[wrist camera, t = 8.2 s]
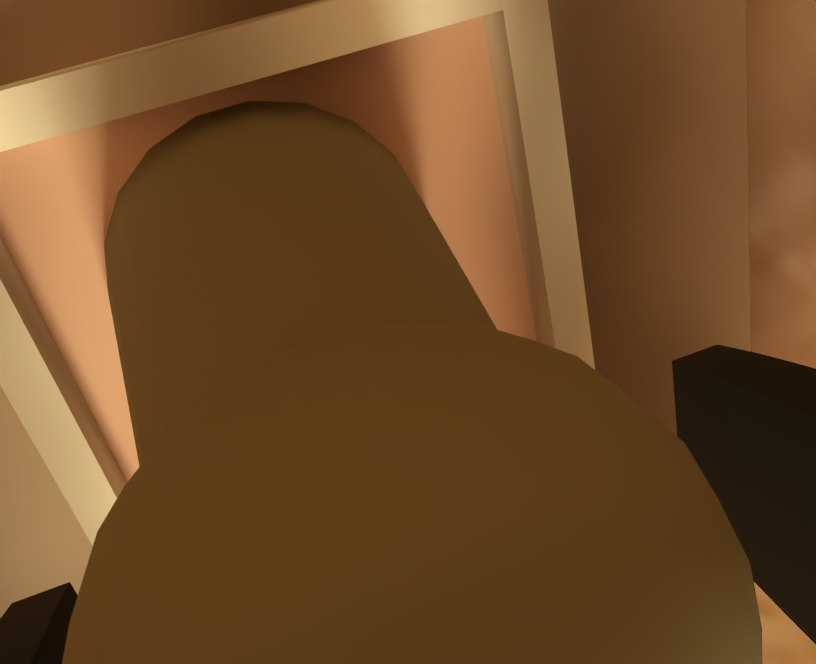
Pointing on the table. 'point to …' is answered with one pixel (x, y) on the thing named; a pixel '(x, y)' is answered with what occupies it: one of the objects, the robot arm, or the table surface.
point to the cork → (371, 439)
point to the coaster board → (420, 159)
